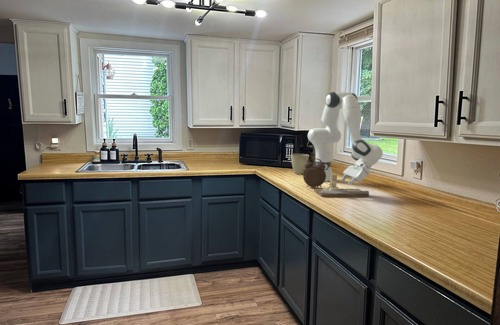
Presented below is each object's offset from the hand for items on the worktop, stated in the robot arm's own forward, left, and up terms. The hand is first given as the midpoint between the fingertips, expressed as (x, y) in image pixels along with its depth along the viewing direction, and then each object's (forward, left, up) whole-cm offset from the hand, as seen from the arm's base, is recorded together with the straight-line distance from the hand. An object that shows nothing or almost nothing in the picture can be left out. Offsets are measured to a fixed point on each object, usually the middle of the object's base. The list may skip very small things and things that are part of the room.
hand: (345, 182), depth 216 cm
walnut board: (-1, -1, -8) cm, 8 cm away
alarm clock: (-20, -12, -8) cm, 25 cm away
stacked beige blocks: (0, -8, -6) cm, 10 cm away
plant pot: (-75, -6, -8) cm, 76 cm away
